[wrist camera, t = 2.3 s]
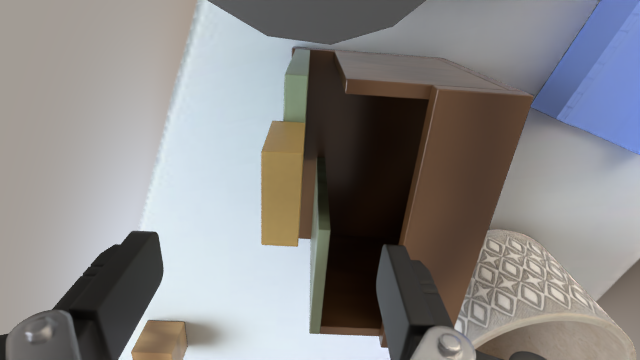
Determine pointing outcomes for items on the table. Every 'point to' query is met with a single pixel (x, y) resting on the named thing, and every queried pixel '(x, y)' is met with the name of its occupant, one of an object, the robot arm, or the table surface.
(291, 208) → the door
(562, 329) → the planter
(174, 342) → the block
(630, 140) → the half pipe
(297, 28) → the candle holder
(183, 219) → the table surface
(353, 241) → the cabinet
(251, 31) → the table surface
